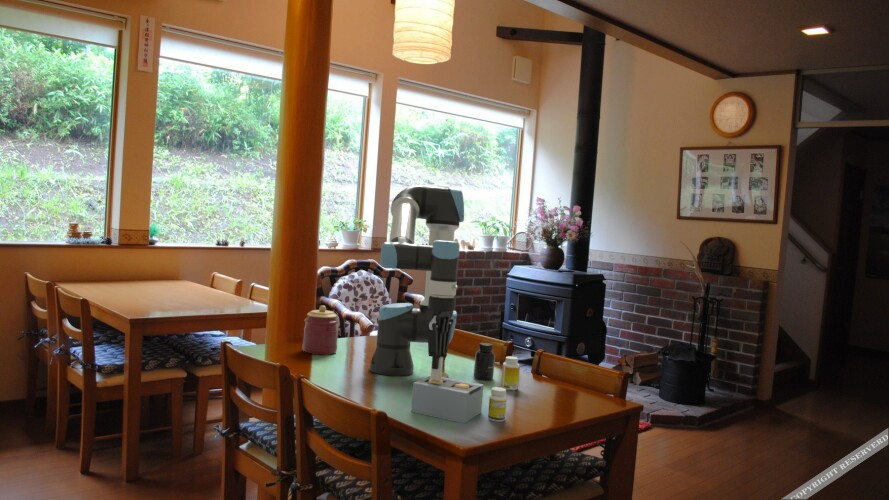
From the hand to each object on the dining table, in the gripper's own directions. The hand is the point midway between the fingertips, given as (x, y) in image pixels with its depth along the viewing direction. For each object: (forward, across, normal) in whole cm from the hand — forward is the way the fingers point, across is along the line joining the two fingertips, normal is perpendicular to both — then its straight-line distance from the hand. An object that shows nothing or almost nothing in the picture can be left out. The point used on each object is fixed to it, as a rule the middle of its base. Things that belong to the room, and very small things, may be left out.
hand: (435, 379), depth 183 cm
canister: (+9, +40, +68) cm, 79 cm away
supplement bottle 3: (+9, +38, -9) cm, 40 cm away
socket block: (+9, 0, -4) cm, 9 cm away
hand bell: (+9, +19, +7) cm, 22 cm away
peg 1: (+8, 0, 0) cm, 8 cm away
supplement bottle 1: (+9, +45, +3) cm, 46 cm away
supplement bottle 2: (+9, +3, -18) cm, 20 cm away
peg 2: (+8, 0, -8) cm, 11 cm away
